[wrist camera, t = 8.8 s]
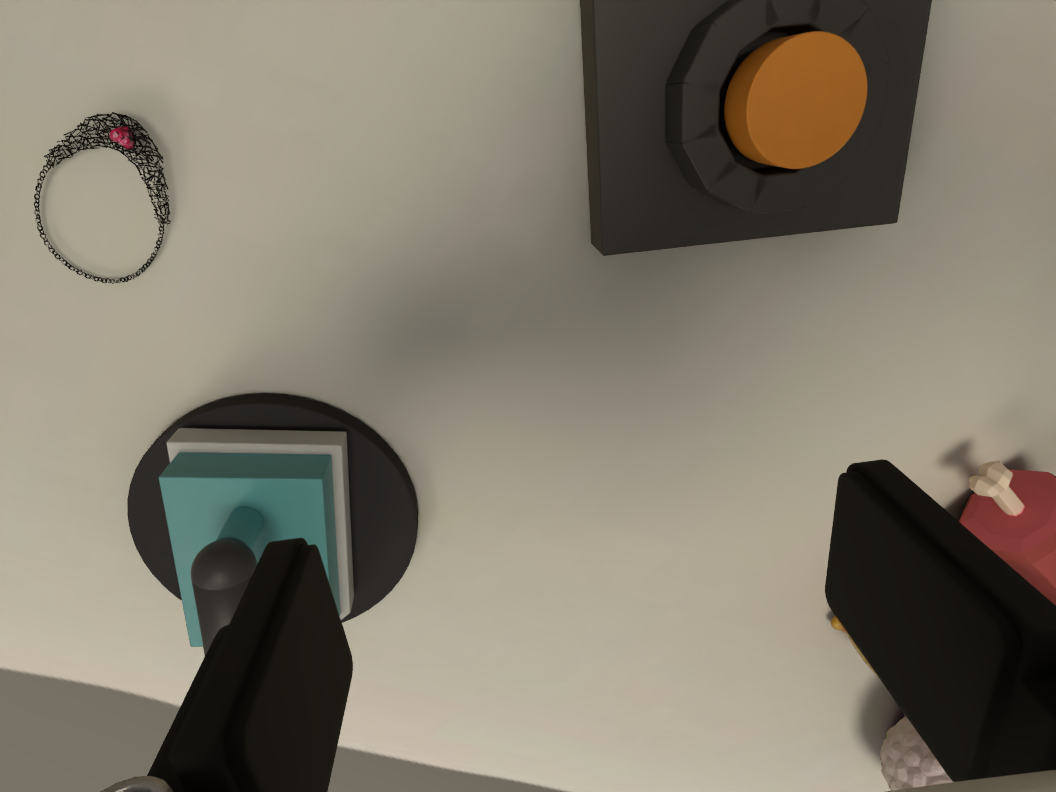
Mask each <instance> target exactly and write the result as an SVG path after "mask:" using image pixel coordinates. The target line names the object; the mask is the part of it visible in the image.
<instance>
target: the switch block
mask: <svg viewBox="0 0 1056 792" xmlns="http://www.w3.org/2000/svg"><path fill="white" fill-rule="evenodd" d="M931 2H932V0H580V7H581V29H582V51H583V72H584V94H585V116H586V137H587V159H588V181H589V202H590V224H591V243H592V245H593V246H594V247H595V248H596V249H597V250H598V251H599V252H600V253H601V254H602V255H604V256H606V255H615V254H624V253H633V252H642V251H651V250H660V249H669V248H678V247H686V246H695V245H704V244H713V243H722V242H731V241H740V240H749V239H758V238H767V237H776V236H785V235H794V234H802V233H811V232H820V231H829V230H838V229H847V228H856V227H865V226H874V225H883V224H892V223H896V222H897V221H898V214H899V208H900V201H901V195H902V188H903V182H904V175H905V169H906V163H907V156H908V150H909V143H910V137H911V130H912V124H913V118H914V111H915V105H916V98H917V92H918V85H919V79H920V73H921V66H922V60H923V53H924V47H925V40H926V34H927V28H928V21H929V15H930V8H931ZM812 31H823V32H829V33H832V34H835V35H838V36H840V37H842V38H843V39H845V40H846V41H847V42H849V43H850V44H851V45H852V46H853V47H854V48H855V50H856V51H857V53H858V54H859V56H860V58H861V60H862V62H863V64H864V68H865V71H866V76H867V99H866V104H865V108H864V112H863V115H862V117H861V120H860V122H859V124H858V126H857V128H856V130H855V132H854V133H853V134H852V136H851V137H850V139H849V140H848V141H847V142H846V144H845V145H844V146H843V147H842V148H841V149H840V150H839V151H838V152H836V153H835V154H834V155H833V156H831V157H830V158H828V159H827V160H825V161H823V162H821V163H819V164H817V165H814V166H811V167H807V168H802V169H789V168H782V167H777V166H772V165H767V164H762V163H758V162H755V161H752V160H750V159H748V158H747V157H745V156H744V155H743V154H742V153H740V152H739V151H738V150H737V148H736V147H735V146H734V144H733V143H732V141H731V139H730V137H729V135H728V132H727V129H726V125H725V118H724V105H725V98H726V93H727V90H728V87H729V84H730V82H731V79H732V77H733V75H734V73H735V72H736V70H737V68H738V67H739V66H740V64H741V63H742V62H743V60H744V59H745V58H746V57H747V56H748V55H749V54H750V53H752V52H753V51H754V50H755V49H757V48H758V47H760V46H761V45H763V44H765V43H767V42H769V41H771V40H775V39H778V38H782V37H787V36H792V35H797V34H801V33H806V32H812Z"/></svg>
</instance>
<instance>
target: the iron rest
mask: <svg viewBox="0 0 1056 792" xmlns="http://www.w3.org/2000/svg"><path fill="white" fill-rule="evenodd" d="M179 428H195V429H242V430H289V431H336V432H346V433H347V455H348V476H349V498H350V520H351V541H352V563H353V585H354V599H353V603H352V608H351V612H350V613H349V614H348V615H347V616H346V617H344V618H343V619H342V620H341V622H345V621H347V620H350V619H352V618H354V617H356V616H358V615H360V614H362V613H363V612H365V611H367V610H369V609H370V608H372V607H373V606H374V605H376V604H377V603H378V602H380V601H381V600H382V599H383V598H384V597H385V596H386V595H387V594H388V593H389V592H390V591H392V589H393V588H394V587H395V586H396V584H397V583H398V582H399V581H400V579H401V578H402V576H403V574H404V573H405V571H406V569H407V567H408V566H409V563H410V560H411V558H412V555H413V553H414V548H415V543H416V538H417V528H418V507H417V499H416V495H415V491H414V488H413V484H412V482H411V480H410V477H409V475H408V473H407V471H406V469H405V467H404V466H403V464H402V463H401V461H400V459H399V458H398V456H397V455H396V454H395V453H394V451H393V450H392V449H391V448H390V447H389V445H388V444H387V443H386V442H385V441H384V440H383V439H382V438H381V437H379V436H378V435H377V434H376V433H375V432H374V431H373V430H372V429H370V428H369V427H367V426H366V425H365V424H363V423H362V422H360V421H359V420H357V419H356V418H354V417H352V416H350V415H348V414H347V413H345V412H343V411H341V410H338V409H336V408H334V407H331V406H329V405H326V404H324V403H320V402H317V401H313V400H310V399H306V398H302V397H296V396H290V395H282V394H250V395H241V396H235V397H230V398H225V399H222V400H218V401H215V402H212V403H209V404H206V405H204V406H202V407H200V408H198V409H196V410H193V411H191V412H190V413H188V414H186V415H185V416H183V417H182V418H180V419H179V420H177V421H176V422H175V423H173V424H172V425H171V426H170V427H169V428H168V429H167V430H166V431H164V432H163V433H162V434H161V436H160V437H159V438H158V439H157V440H156V441H155V442H154V443H153V445H152V446H151V447H150V448H149V449H148V451H147V452H146V453H145V454H144V456H143V457H142V459H141V461H140V463H139V464H138V466H137V468H136V470H135V473H134V475H133V478H132V481H131V484H130V489H129V495H128V520H129V526H130V532H131V535H132V537H133V540H134V543H135V546H136V548H137V550H138V552H139V554H140V556H141V558H142V559H143V561H144V563H145V564H146V565H147V567H148V568H149V570H150V571H151V572H152V574H153V575H154V576H155V577H156V578H157V579H158V580H159V581H160V582H161V584H162V585H163V586H164V587H165V588H167V589H168V590H169V591H170V592H171V593H172V594H174V595H175V596H176V597H177V598H179V599H180V600H182V598H181V593H180V588H179V582H178V577H177V572H176V566H175V561H174V556H173V551H172V545H171V540H170V535H169V529H168V524H167V519H166V514H165V508H164V503H163V498H162V492H161V487H160V482H159V476H160V475H161V474H162V472H163V471H164V470H165V469H166V468H167V466H168V465H169V464H170V460H169V454H168V448H167V441H168V440H169V439H170V438H171V437H172V435H173V434H174V433H175V432H176V431H177V430H178V429H179Z"/></svg>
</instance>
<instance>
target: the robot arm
mask: <svg viewBox="0 0 1056 792" xmlns="http://www.w3.org/2000/svg"><path fill="white" fill-rule="evenodd" d="M825 594H826V598H827V602H828V604H829V607H830V608H831V610H832V611H833V613H834V614H835V616H836V617H837V619H838V620H839V621H840V623H841V624H842V626H843V627H844V629H845V630H846V631H847V633H848V634H849V636H850V637H851V639H852V640H853V641H854V643H855V644H856V646H857V647H858V648H859V650H860V651H861V653H862V654H863V656H864V657H865V658H866V660H867V661H868V663H869V664H870V666H871V667H872V668H873V670H874V671H875V673H876V674H877V676H878V677H879V678H880V680H881V681H882V683H883V684H884V685H885V687H886V688H887V690H888V691H889V693H890V694H891V695H892V697H893V698H894V700H895V701H896V703H897V704H898V705H899V707H900V708H901V710H902V711H903V713H904V714H905V715H906V717H907V718H908V720H909V721H910V722H911V724H912V725H913V727H914V728H915V730H916V731H917V732H918V734H919V735H920V737H921V738H922V740H923V741H924V742H925V744H926V745H927V747H928V748H929V750H930V751H931V752H932V754H933V755H934V757H935V758H936V759H937V761H938V762H939V764H940V765H941V767H942V768H943V769H944V771H945V772H946V774H947V775H948V776H949V777H950V779H951V780H952V781H953V782H951V783H943V784H936V785H929V786H922V787H915V788H907V789H900V790H893V791H886V792H1056V605H1054V604H1053V603H1052V602H1051V601H1050V600H1049V599H1048V598H1046V597H1045V596H1044V595H1043V594H1042V593H1041V592H1039V591H1038V590H1037V589H1036V588H1035V587H1034V586H1033V585H1031V584H1030V583H1029V582H1028V581H1027V580H1026V579H1024V578H1023V577H1022V576H1021V575H1020V574H1019V573H1018V572H1016V571H1015V570H1014V569H1013V568H1012V567H1011V566H1009V565H1008V564H1007V563H1006V562H1005V561H1004V560H1003V559H1001V558H1000V557H999V556H998V555H997V554H996V553H994V552H993V551H992V550H991V549H990V548H989V547H988V546H986V545H985V544H984V543H983V542H982V541H981V540H979V539H978V538H977V537H976V536H975V535H974V534H972V533H971V532H970V531H969V530H968V529H967V528H966V527H964V526H963V525H962V524H961V523H960V522H959V521H957V520H956V519H955V518H954V517H953V516H952V515H951V514H949V513H948V512H947V511H946V510H945V509H944V508H942V507H941V506H940V505H939V504H938V503H937V502H936V501H934V500H933V499H932V498H931V497H930V496H929V495H927V494H926V493H925V492H924V491H923V490H922V489H921V488H919V487H918V486H917V485H916V484H915V483H914V482H912V481H911V480H910V479H909V478H908V477H907V476H906V475H904V474H903V473H902V472H901V471H900V470H899V469H897V468H896V467H895V466H894V465H893V464H892V463H890V462H889V461H887V460H875V461H868V462H861V463H853V464H851V465H850V466H849V467H848V469H847V472H846V473H842V474H841V475H840V476H839V480H838V486H837V494H836V502H835V511H834V519H833V527H832V535H831V543H830V552H829V560H828V568H827V576H826V584H825ZM352 671H353V662H352V655H351V651H350V648H349V645H348V642H347V639H346V635H345V632H344V629H343V626H342V622H341V619H340V616H339V613H338V610H337V606H336V603H335V600H334V597H333V594H332V590H331V587H330V584H329V581H328V578H327V574H326V571H325V568H324V565H323V561H322V558H321V555H320V552H319V549H318V547H317V546H316V545H315V544H312V545H308V544H307V542H306V540H305V539H304V538H294V539H287V540H279V541H272V542H269V543H268V544H267V545H266V547H265V549H264V551H263V553H262V555H261V558H260V560H259V562H258V564H257V566H256V568H255V570H254V572H253V575H252V577H251V579H250V581H249V583H248V585H247V587H246V590H245V592H244V594H243V596H242V598H241V600H240V602H239V604H238V607H237V609H236V611H235V613H234V615H233V617H232V619H231V621H230V624H229V625H225V626H224V627H222V628H221V629H219V631H218V633H217V634H216V636H215V637H214V639H213V641H212V643H211V645H210V647H209V650H208V652H207V654H206V656H205V658H204V660H203V662H202V664H201V666H200V668H199V670H198V672H197V674H196V676H195V678H194V680H193V682H192V684H191V687H190V689H189V691H188V693H187V695H186V697H185V699H184V701H183V703H182V705H181V707H180V709H179V711H178V713H177V715H176V718H175V720H174V722H173V724H172V726H171V728H170V730H169V732H168V734H167V736H166V738H165V740H164V742H163V744H162V746H161V748H160V750H159V752H158V754H157V757H156V759H155V761H154V763H153V765H152V767H151V769H150V771H149V773H148V775H147V776H141V777H133V778H130V779H127V780H124V781H121V782H118V783H115V784H114V785H112V786H110V787H108V788H106V789H104V790H103V791H101V792H327V791H328V786H329V782H330V777H331V772H332V767H333V763H334V758H335V753H336V749H337V744H338V739H339V735H340V730H341V725H342V721H343V716H344V711H345V707H346V702H347V697H348V693H349V688H350V683H351V679H352Z"/></svg>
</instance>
